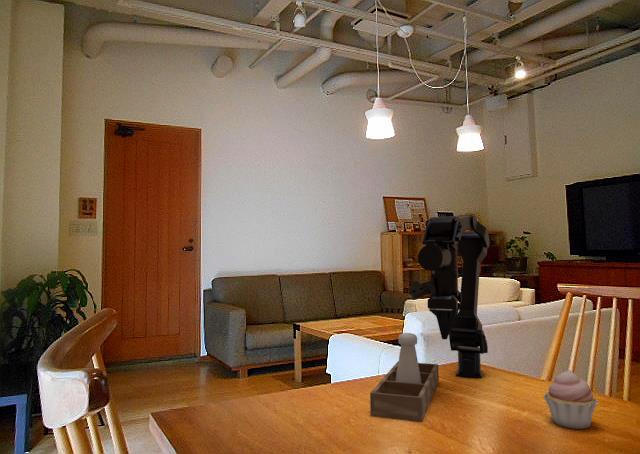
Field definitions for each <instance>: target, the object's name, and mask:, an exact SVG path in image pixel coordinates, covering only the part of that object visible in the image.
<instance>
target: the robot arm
mask: <svg viewBox="0 0 640 454" xmlns="http://www.w3.org/2000/svg"><path fill="white" fill-rule="evenodd" d="M469 230H472V231H469ZM489 247H490V235H489V233H488V230H487V227H486V226H484V225H483V224H481V222H479V221H478V218H477V216H476V215H473V214H458V215H451V216H431V217H430V218H429V220H428V221H427V223H426V227H425V230H424V235H423V239H422V247H421V248H420V250H419V252H418V255H417V262H418V265H420V267H421V268H422V269H423V270H426V271H429V272H430V271H432V273H431V274H430V278H429V279H430V280H426V281H423V282H421V281H420V280H419V279H418V280H415V281H412V282H411V286H409V287H408V288H407V289H408V293H409V295H410V296H411V299H412V301H415V300H418V299H419V298H421V297H424V296H427V295H430V297H429V298H428V299H427V309H428V310H429V312H431V314H432V315H434V316H435V317H436V320H437V324H438V329H439V333H440V335H441V336H440V337H441V339H442V340H449V347H450V351H452V352H453V351H454V352H455V351H456V352H457V365H458V368H457V370H456V371H455V372H456V373H455V375H456V377H467V378H481V379H482V378H483V372H484V371H483V370H482V366H481V355H483V354H484V355H485V354H488V353H489V348H488V347H489V346H488V341H487V337H486V334H485V333H484V332H485V331H484V330H483V324H482V322H481V321H480V318H479V316H478V303H479V285H480V273H481V272H480V270H481V264H482V262H483V261H484V259H485V258H486V257H487V255H488V248H489ZM458 253H459V254H458ZM458 255H460V257H461V259H462V268H461V269H462V270H461V283H460V291H459V271H458Z"/></svg>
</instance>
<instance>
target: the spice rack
mask: <svg viewBox="0 0 640 454" xmlns="http://www.w3.org/2000/svg"><path fill="white" fill-rule="evenodd" d="M398 362H399V360H398V361H397V362H396V363H395V364H394V365H393V366H392V367H391V368H390V370H388V372H387V373H386V374H385V376H383V378H381V380H380V381H379V382H378V384H377V385H376V386H375V387H374V388H373V389H372V391H371V392H369V393H370V394H369V395H370V397H369V398H370V401H369V404H370V408H369V409H370V417H379V418H387V419H394V420H395V419H396V420H402V421H411V422H413V421H414V422H420V423H422V422H423V420H424V418H425V416H426V414H427V411H428V408H429V406H430V404H431V401H432V399H433V397H434V394H435V392H436V390H437V388H438V385H439V381H440V380H439V364H438V363H423V362H418V366H419V371H420V376H421V383H409V382H398V381H396V374H397V368H398Z"/></svg>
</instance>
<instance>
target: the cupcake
mask: <svg viewBox="0 0 640 454" xmlns="http://www.w3.org/2000/svg"><path fill="white" fill-rule="evenodd" d="M593 397H594V393H593V391H592V388H590V385H589V384H588V383H587V382H586V381H585V380H583V379H581V378H579V377H578V376H577V375H576V373H574V372H573V371H572V370H571V369H568V370H566V371H563V372H561V373H560V374H558V375H557V376H556V377H555V379H554V381H553V382H552V383H551V384H550V385H549V386H548V392H545V393H544V395H543V398H544V400H545V402H546V404H547V406H548V408H549V411H550V412H549V413H550V415H551V420H552V421H553V423H554V424H555V425H558V426H561V427H564V428H568V429H575V430H582V429H584V430H585V429H587V428H588V429H589V427H590V426H591V425H592V420H593V415H594V414H593V413H594V410H595V409H596V407H597V405H598V402H599V400H598V399H596V398H593Z"/></svg>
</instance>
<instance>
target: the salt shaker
mask: <svg viewBox="0 0 640 454" xmlns="http://www.w3.org/2000/svg"><path fill="white" fill-rule="evenodd" d="M398 344H399V345H400V349H399V355H398V357H399V358H398V361H399V362H398V361H397V362H398V368H397V374H396V381H398V382H409V383H421V376H420V371H419V366H418V363H419V360H418V355H417V350H416V345H417V344H418V335H416V334H415V333H412V332H404V333H403V332H402V333H400V334H399V335H398Z"/></svg>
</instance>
